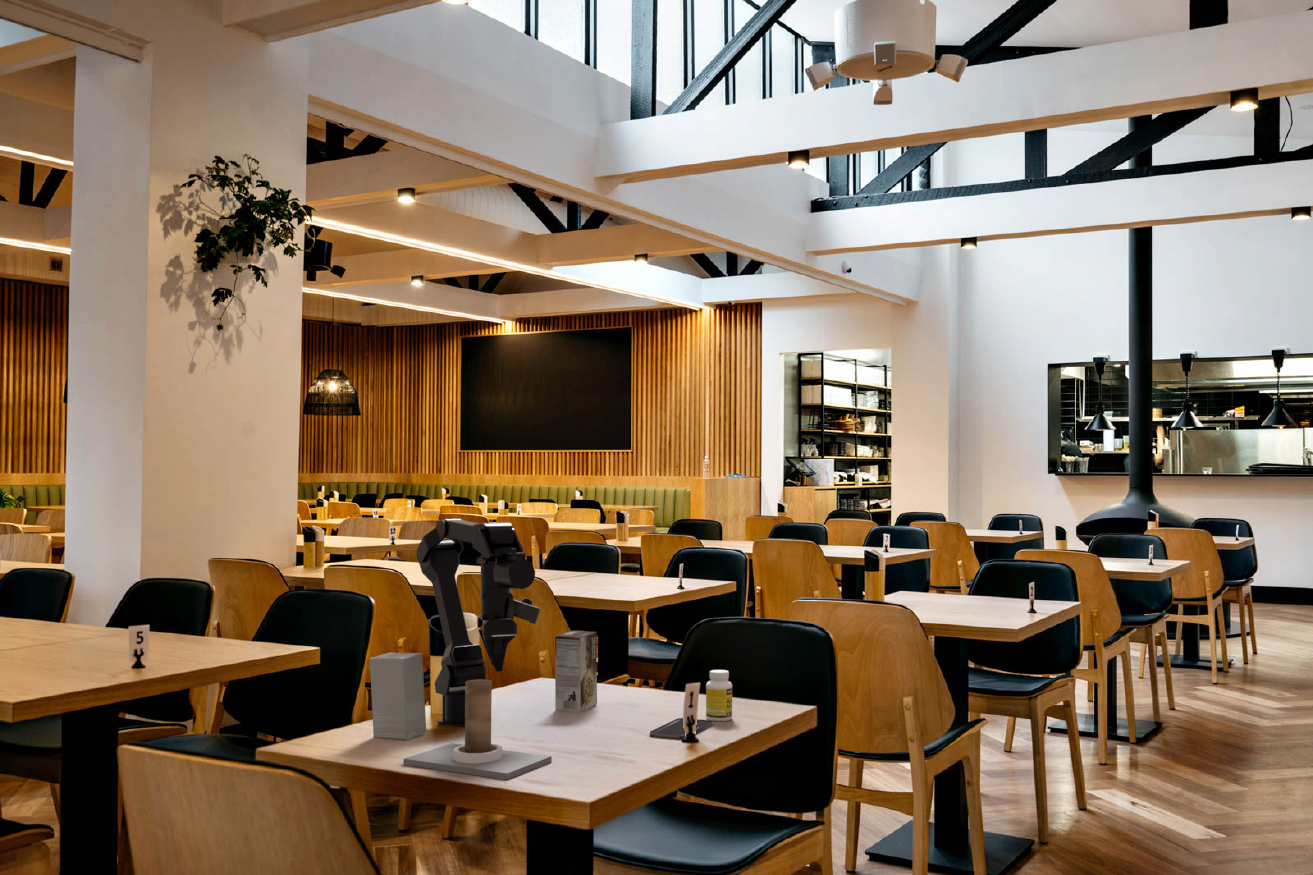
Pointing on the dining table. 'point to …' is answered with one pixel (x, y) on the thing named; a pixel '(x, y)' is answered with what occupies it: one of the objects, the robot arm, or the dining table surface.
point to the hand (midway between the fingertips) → (496, 668)
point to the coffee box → (575, 671)
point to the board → (480, 769)
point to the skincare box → (398, 695)
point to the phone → (678, 729)
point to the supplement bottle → (719, 696)
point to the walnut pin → (478, 716)
